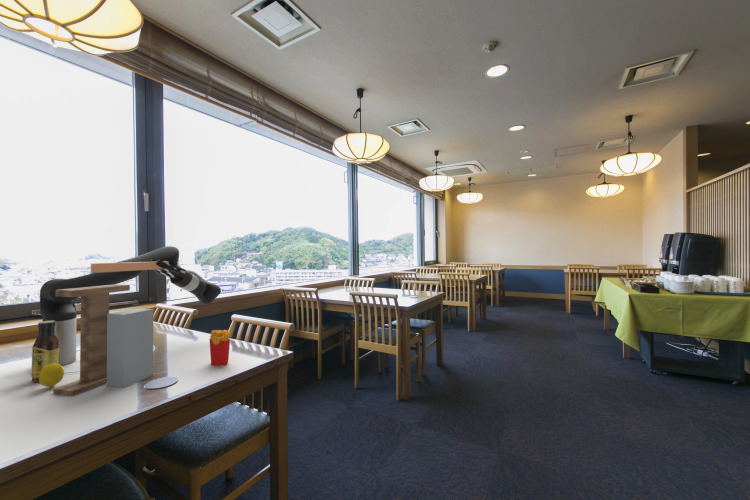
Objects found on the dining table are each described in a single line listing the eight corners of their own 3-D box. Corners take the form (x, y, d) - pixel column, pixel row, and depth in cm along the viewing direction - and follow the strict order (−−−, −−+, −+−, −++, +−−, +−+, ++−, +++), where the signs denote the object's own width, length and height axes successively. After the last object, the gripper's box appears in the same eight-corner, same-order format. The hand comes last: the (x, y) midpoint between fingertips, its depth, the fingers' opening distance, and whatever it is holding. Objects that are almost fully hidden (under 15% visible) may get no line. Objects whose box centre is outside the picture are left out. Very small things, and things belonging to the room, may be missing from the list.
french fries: (206, 363, 116) (207, 330, 117) (216, 360, 120) (216, 328, 121) (224, 367, 113) (224, 333, 113) (233, 363, 117) (233, 330, 117)
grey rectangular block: (106, 385, 97) (107, 313, 98) (137, 373, 107) (137, 308, 107) (123, 387, 96) (123, 314, 96) (152, 375, 106) (153, 309, 106)
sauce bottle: (27, 381, 101) (28, 322, 101) (52, 374, 106) (53, 318, 107) (37, 384, 98) (37, 324, 98) (62, 377, 104) (63, 320, 104)
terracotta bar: (90, 272, 99) (90, 263, 99) (162, 268, 125) (162, 261, 125) (97, 272, 99) (97, 263, 99) (168, 268, 124) (168, 261, 124)
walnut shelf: (53, 393, 92) (54, 289, 92) (112, 372, 108) (113, 284, 109) (72, 396, 90) (73, 290, 90) (130, 374, 107) (130, 284, 107)
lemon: (47, 392, 93) (47, 366, 93) (33, 390, 94) (34, 365, 94) (68, 384, 98) (68, 360, 98) (55, 383, 99) (56, 358, 100)
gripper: (194, 288, 130) (163, 270, 116) (168, 287, 134) (135, 269, 119) (201, 272, 134) (172, 253, 120) (176, 272, 137) (144, 253, 123)
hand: (154, 261), depth 119 cm, fingers closed on terracotta bar, 3 cm apart
